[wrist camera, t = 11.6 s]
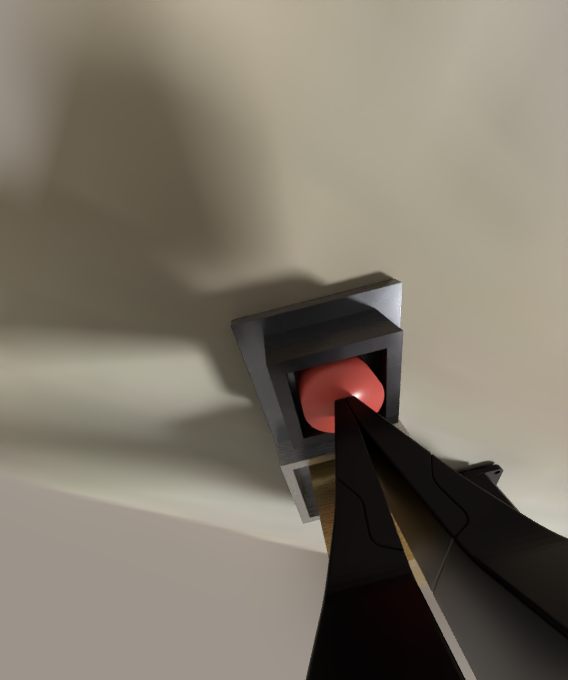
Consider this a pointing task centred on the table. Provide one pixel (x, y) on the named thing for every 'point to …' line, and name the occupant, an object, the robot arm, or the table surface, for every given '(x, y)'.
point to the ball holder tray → (313, 350)
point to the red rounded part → (336, 389)
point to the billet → (325, 501)
